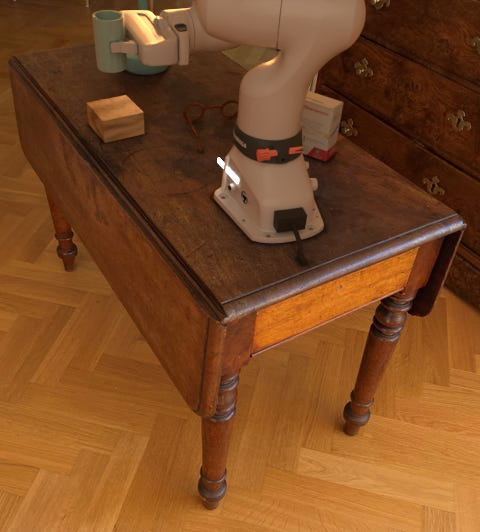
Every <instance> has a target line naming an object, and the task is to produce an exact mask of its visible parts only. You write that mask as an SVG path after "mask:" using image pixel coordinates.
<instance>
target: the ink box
mask: <svg viewBox="0 0 480 532" xmlns="http://www.w3.org/2000/svg"><path fill="white" fill-rule="evenodd" d="M343 108H344V101H341V100H338V99H335V98H331V97H328V96H326V95H322V94H319V93H316V92H313V91H310V90H308V92H307V95H306V99H305V103H304V108H303V113H302V119H301V126H302V135H303V141H302V142H303V152H302V154H303V155H306V156H307V157H308V156H309V157H311V158H313V159H316V160H319V161H322V162H327V161H328V160H329V159H331V157H333V155H334V154H335V153H336V146H337V142H338V136H339V129H340V124H341V119H342V113H343Z"/></svg>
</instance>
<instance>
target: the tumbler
mask: <svg viewBox="0 0 480 532" xmlns="http://www.w3.org/2000/svg"><path fill="white" fill-rule="evenodd" d="M91 24H92V35H93V44H94V45H93V46H94V57H95V64H96V68H97V70H98V71H100V72H103V73H107V74H116V73H120V72H123V71H126V70H125V69H126V68H127V57H126V53H121V52H119V53H112V52H111V50H110V48H109V42H110V41H116V40H118V41H119V42H127V41H126V40H125V25H124V15H123V14H122V13H121V12H119V11H118V10H112V9H102V10H97V11H95V12H92V14H91Z"/></svg>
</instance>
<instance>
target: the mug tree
mask: <svg viewBox="0 0 480 532" xmlns="http://www.w3.org/2000/svg"><path fill="white" fill-rule="evenodd" d="M137 10H146V11H149V5H148V0H137ZM126 57H127V68H126V69H125V70H124V71H126V72H128V73H130V74H135V75H139V76H140V75H142V76H150V75H151V76H152V75H153V76H154V75H157V74H161V73H163V72H165V71H167V69H168V68H169V66H170V65H167V66H147V65H144V64H143V63H142V62H141V60H140V59H139V58H138V56H137V55H136V54H126Z"/></svg>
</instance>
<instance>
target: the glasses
mask: <svg viewBox="0 0 480 532" xmlns="http://www.w3.org/2000/svg"><path fill="white" fill-rule="evenodd" d="M233 103H234V104H237V105H238V103H239V100H237V99H228V100H226V101H224V102H223V103H222V104H221V105H219V104H213V105H206V106H204V105H203V104H201V103H199V102H192V103H189V104H187V105H186V106H185V107H184V109H183V112H182V115H183V118H184V120H185V121H187V122H188V124H189V127H190V130H191V131H192V132H193V134H194V136H195V139H196V144H197V147H198V150H199V153H200V152H202V147H201V143H200V140H199V136H198V133H197V131H196V129H195V127H194V125H193V122H194V123H195V122H198V121H200V120H201V119H202V118H203V117H204V114H205V111H206V110H211V109H212V110H214V109H220V114H221V116H222V117H223V118H225V119H233V118H235V117H238V109H237V110H236V111H235V112H234V113H233V114H225V113H224V108H225V107H226V106H227V105H229V104H233ZM192 107H199V108H200V109H201V113H200V114H199V115H198V117H195V118H190V115H189V113H188V110H189V109H190V108H192Z"/></svg>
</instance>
